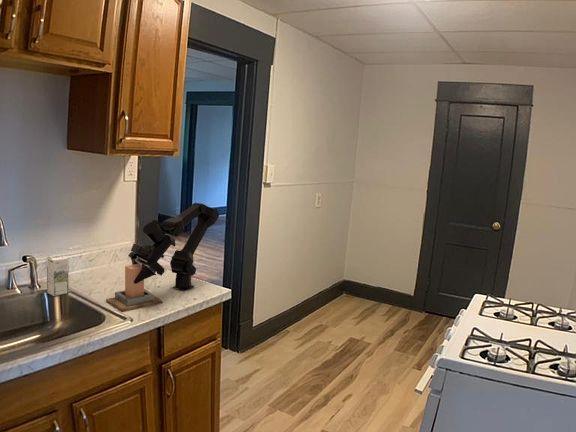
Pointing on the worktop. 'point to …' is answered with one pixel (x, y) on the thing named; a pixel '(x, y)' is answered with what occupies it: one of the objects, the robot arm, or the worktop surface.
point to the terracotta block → (130, 276)
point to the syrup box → (57, 275)
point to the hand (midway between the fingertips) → (131, 281)
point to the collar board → (132, 301)
